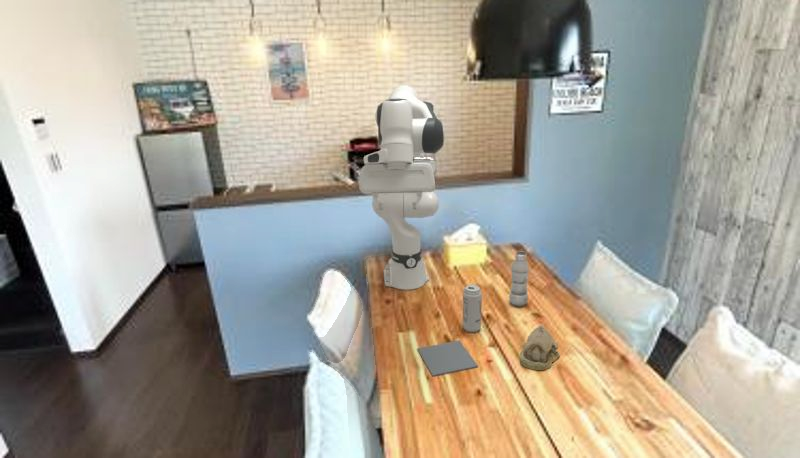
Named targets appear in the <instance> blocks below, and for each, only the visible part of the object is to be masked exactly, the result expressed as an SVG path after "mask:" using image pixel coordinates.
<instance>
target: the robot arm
mask: <svg viewBox="0 0 800 458" xmlns="http://www.w3.org/2000/svg"><path fill="white" fill-rule="evenodd" d="M374 117H375V118H374V119H375V122H376V124H377V131H378V132H377V134H378V135H377V137H378V139H377V140H378V145H379V146H380V150H378V151H374V152H372V153H369V154H367V155H364V157H363V163H364V165H363V166H362V167H361V170H360V172H359V174H360V175H359V184H358V185H359V186H358V187H359V188H358V189H359V191H360V192H361V193H362V194H365V195H367V194H369V195H370V194H372V201H371V206H372V209H373V211H374V214H376V215H377V216H378V217H380V218H381V219H382V220H383V221H384V222H385V223H386V225H387V227H388V229H389V231H390V234H391V241H392V243H391V244H392V250H391V254H390V255H391V257H390V258H389V259H388V261H387V262H388V263H387V264H385V265H384V269H383V280H384V281H383V282H384V286H385V287H392V288H395V289H398V290H408V291H409V290H416V289H418V288H420V287H423V286H424V285H425V283H426V282H428V281H430V276H429V275H428V274H427V270H426V262H425V260H424V259H422V258H423V256H422V255H423V252H422V249H421V232H420V230H419V229H418V228H417V227H416V226H415V225H413V224H411V223H409V222H408V221H407V220H406V219H412V218H413V219H423V218H429V217H433V216H434V215H436V214H437V212H438V209H439V206H440V199H439V197H438V195H437V194H436V192H434V191H435V190H436V180H435V173H436V172H437V163H436V162H437V161H435V159H433V158H431V157H430V156H429V157H428V156H427V157H421V154H432V155H433V154H436V153H438V152H439V151H440V150H441V149H442V148H443V147H444V142H445V138H446V137H445V136H446V135H445V129H444V126H443V123H442V121H441V120H440V119H438V118H437V113H436V110H435V107H434V105H433V103H432V102H430V101H421V100H420V97H419V94H418V92H417V91H416V89H415V88H414V87H413V86H411V85H408V84H402V85H399V86H397V87H395V89H393V91H392V92H391V93H390V94H389V96H388V99H385V100H384V101H383V102H381V103H379V104H378V106H377V109H376V111H375V115H374Z"/></svg>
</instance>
